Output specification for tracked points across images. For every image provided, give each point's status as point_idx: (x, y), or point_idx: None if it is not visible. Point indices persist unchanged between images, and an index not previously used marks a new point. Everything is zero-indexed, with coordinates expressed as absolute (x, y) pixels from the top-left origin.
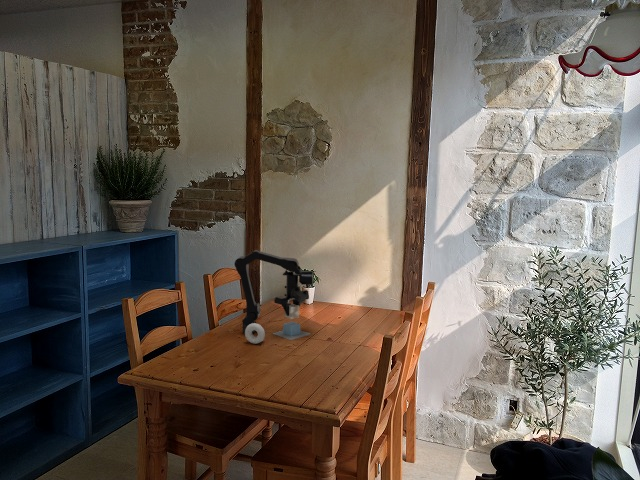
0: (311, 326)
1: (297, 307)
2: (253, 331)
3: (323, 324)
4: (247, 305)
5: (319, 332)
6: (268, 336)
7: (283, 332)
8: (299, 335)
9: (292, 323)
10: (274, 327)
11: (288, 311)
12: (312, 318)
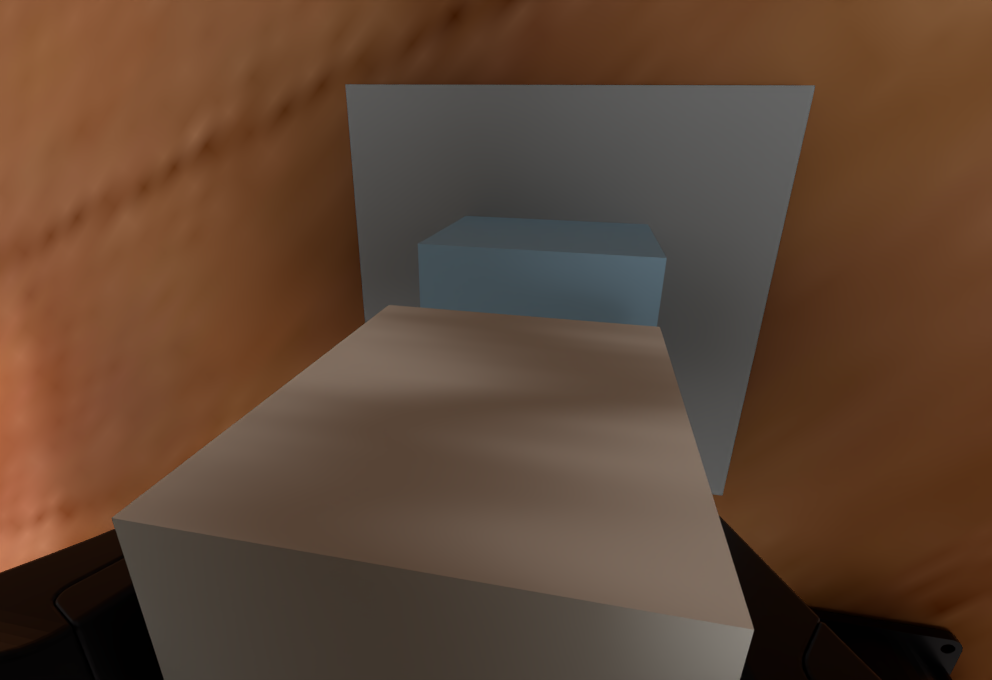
0: (151, 356)
1: (276, 481)
2: (881, 666)
3: (8, 306)
4: None
5: (189, 118)
6: (778, 484)
7: None
8: (532, 161)
9: None
10: None
11: (737, 563)
12: (25, 503)
